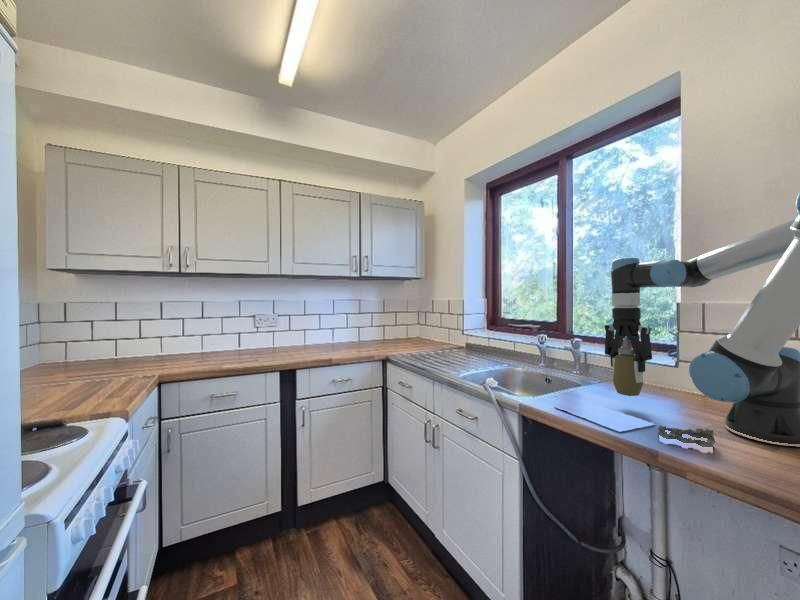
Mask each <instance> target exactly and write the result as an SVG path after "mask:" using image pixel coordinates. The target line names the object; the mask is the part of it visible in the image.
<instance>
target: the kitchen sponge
mask: <svg viewBox="0 0 800 600" xmlns="http://www.w3.org/2000/svg"><path fill="white" fill-rule="evenodd" d="M665 430H668V431H671V432H670V433H669V434H667V432H665ZM682 434H688V435H690V436H692V437H696V438H701V437H703V438H707V439H708V440H707V442H705V441H701V440H695V439H694V440H692V439H691V438H688V439H687V438H683V437H682ZM658 435H660V436H662V437H663V438H666V439H677V440H679V441H681V442H683V443H696V444H698V445H700V446H702V447H713V445H714V444H716V440H715V437H714V436H715V432H714V430H713V429H708V428H696V429H691V428H688V429H682V428H678V427H677V428H676V427H666V426H663V425H659V426H658V427H657V436H658Z"/></svg>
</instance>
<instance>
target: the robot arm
mask: <svg viewBox="0 0 800 600" xmlns="http://www.w3.org/2000/svg"><path fill="white" fill-rule="evenodd" d="M795 208H796V211H797V216H796V218H794V219H792V220H789V221H787V222H784V223H781V224H780V225H776V226H774V227H771V228H769V229H766V230H763V231H760V232H757V233H756V234H752V235H750V236H748V237H745V238H743V239H740V240H738V241H735V242H733V243H729V244H727V245H725V246H722V247H719V248H716V249H714V250H712V251H709V252H706V253H704V254H701V255H699V256H697V257H694V258H691V259H688V260H686V261H681V260H679V259H673V258H672V259H661V260H655V261H647V262H640V259H639V258H638V257H620V258H615V259H613V260H612V261H611V269H610V275H611V277H610V278H611V306H612V307H613V308H612V309H611V313H612V314H611V315H612V319H613V322H612V324H605V325H604V326H603V327H604V330H605V340H604V341H605V342H604V354H605V355H607V356H609V357H610V366H611V368H612V374H613V373H614V363H615V356H616V355H618V354H619V353H618V348H622V346H623V341H624V337H628V339H629V340H630V343H631V347H632V348H633V350H634V353H635V356H636V359H637V360H635V361H634V369H635V378H636V383H640V382H643V383H644V373H645V372H646V362H647V361H652V360H653V352H652V344H651V336H650V335H651V331H652V328H651V327H650V326H644V325H642V324H641V322H640V321H641V316H642V315H641V308H640V307H639V306H641V288H677V287H678V288H679V287H681V288H682V287H683V288H685V287H686V288H697V287H702V286H706V285H707V284H709V283H710V282H711V281H712V280H715V279H719V278H721V277H725V276H729V275H732V274H734V273H737V272H740V271H741V272H742V271H744V270H747V269H750V268H753V267H757V266H760V265H763V264H767V263H770V262H773V261H775V260H778V261H777V263H776V265H775V267H774V268H773V270H772V271H771V273H770V274H769V276H768V277H767V278H766V280H765V281H764V283H763V284H762V286H761V287H760V289H759V290H758V292H757V293H756V295H755V296H754V298H753V299H752V300H751V302H750V303H749V305H748V306H747V308H746V310H745V311H744V312H743V314H742V315H741V317H740V318H739V320H738V321H737V323H736V324H735V326H734V328H733V329H732V330H731V332H730V333H728V334H724V335H720V336H718V337H717V338H716V340H715V341H714V343H713V344H712V346H711V347H710V349H709V350H708V351H706V352H705V351H704V352H701V353H700V354H698V355H696V356H695V357H694V358H692V360H691V361H690V363H689V368H688V373H689V376H690V378H691V380H692V384H693V385H694V386H695V388H696V390H698V391H699V392H700V393H701V394H703V395H704V396H706V397H708V398H709V399H712V400H714V401H718V402H722V403H723V402H724V403H732V404H731V406H730V409H729V411H728V413H727V415H726V417H725V419H724V421H725V422H724V423H725V424H726V425H727V426H728V427H729V428H731V429H733V430H735V431H737V432H740V433H743V434H746V435H749V436H752V437H756V438H759V439H763V440H767V441H772V442H779V443H788V444H800V351H799V349H796V348H794V347H787V346H786V347H785V345H786V343H788V341H789V340H790V339H791V338H792V336H793V335H794V333H796V331H797V330H798V328H799V327H800V191H799V192H798V194H797V197H796V200H795ZM639 333H640V334H639Z"/></svg>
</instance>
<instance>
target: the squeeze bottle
mask: <svg viewBox="0 0 800 600" xmlns="http://www.w3.org/2000/svg"><path fill="white" fill-rule="evenodd" d="M618 353H619V354H618V355H616V356H615V363H614V373H613V372H612V383H613V385H614V389H615V391H616V393H617V394H619V395H622V396H628V397H637V396H639V395H640V393H641V391H642V389H643V385H644V381H643V382H640V383H636V378H635V369H634V361H635V360H637V359H636V356H635V353H634V350H633V347H632V344H631V341H630V340H629V339H628V337H626V336H625V337H624V339H623V342H622V345H621V348H618Z"/></svg>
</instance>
